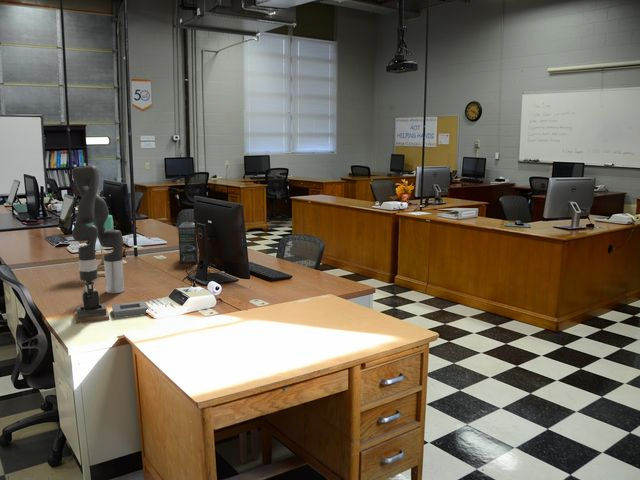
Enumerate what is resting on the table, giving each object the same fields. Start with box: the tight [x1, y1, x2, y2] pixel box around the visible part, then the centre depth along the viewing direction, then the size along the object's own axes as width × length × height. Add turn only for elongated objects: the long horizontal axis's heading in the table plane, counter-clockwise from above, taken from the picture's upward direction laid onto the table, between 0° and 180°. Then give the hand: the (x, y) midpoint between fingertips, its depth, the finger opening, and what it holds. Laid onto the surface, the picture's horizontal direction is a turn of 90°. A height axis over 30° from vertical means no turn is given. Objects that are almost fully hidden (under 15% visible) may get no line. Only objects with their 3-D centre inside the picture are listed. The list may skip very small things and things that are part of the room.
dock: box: [111, 300, 149, 319], centre depth 267 cm, size 12×15×3 cm
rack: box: [74, 303, 110, 325], centre depth 260 cm, size 14×14×4 cm
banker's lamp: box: [87, 214, 115, 278], centre depth 339 cm, size 16×21×35 cm
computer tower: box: [177, 221, 199, 264], centre depth 375 cm, size 22×12×26 cm, turn 6°
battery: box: [81, 288, 100, 310], centre depth 259 cm, size 7×4×11 cm, turn 122°
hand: (90, 303), depth 259 cm, fingers open, 8 cm apart
